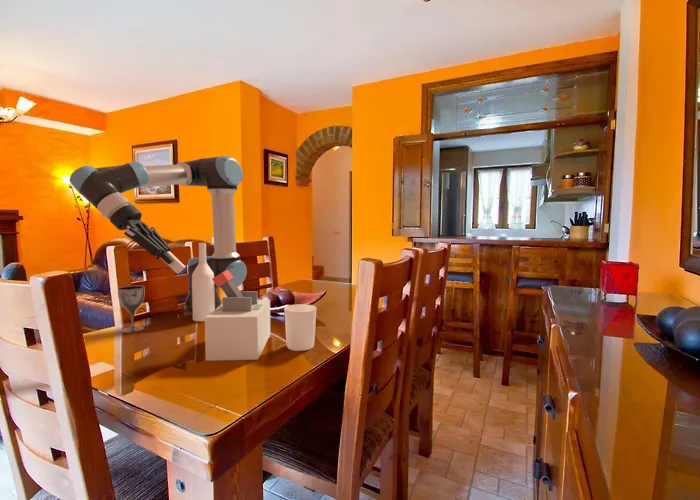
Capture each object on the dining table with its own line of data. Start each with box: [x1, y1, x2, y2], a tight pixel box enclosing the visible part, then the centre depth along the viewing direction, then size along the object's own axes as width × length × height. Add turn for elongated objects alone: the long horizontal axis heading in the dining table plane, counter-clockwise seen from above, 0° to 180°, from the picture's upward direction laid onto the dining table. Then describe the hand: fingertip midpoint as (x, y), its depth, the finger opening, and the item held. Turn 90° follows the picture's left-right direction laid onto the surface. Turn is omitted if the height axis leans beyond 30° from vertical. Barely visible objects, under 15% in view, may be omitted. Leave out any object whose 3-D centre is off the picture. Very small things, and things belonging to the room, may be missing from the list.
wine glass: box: [117, 284, 146, 334], centre depth 120 cm, size 8×8×15 cm
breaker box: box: [204, 290, 271, 362], centre depth 104 cm, size 22×14×16 cm, turn 4°
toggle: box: [212, 270, 244, 297], centre depth 103 cm, size 6×4×11 cm
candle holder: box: [283, 303, 317, 352], centre depth 105 cm, size 10×10×12 cm
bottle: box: [192, 242, 215, 322], centre depth 134 cm, size 8×8×30 cm
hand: (181, 270), depth 101 cm, fingers closed
